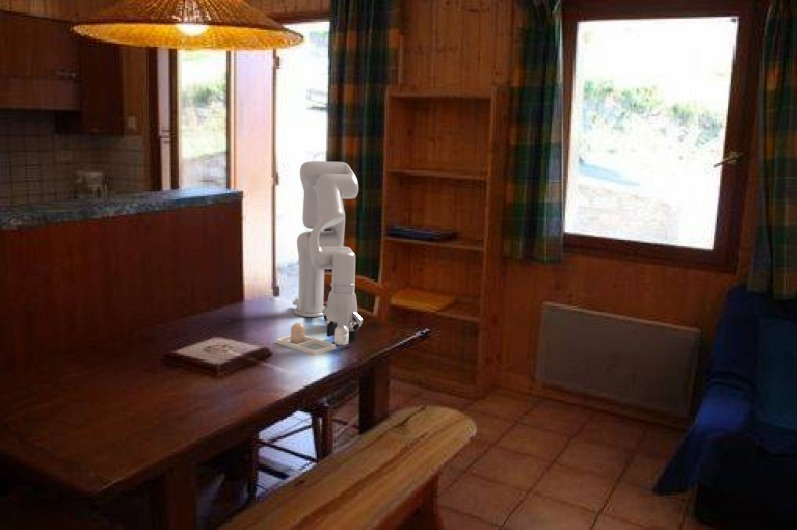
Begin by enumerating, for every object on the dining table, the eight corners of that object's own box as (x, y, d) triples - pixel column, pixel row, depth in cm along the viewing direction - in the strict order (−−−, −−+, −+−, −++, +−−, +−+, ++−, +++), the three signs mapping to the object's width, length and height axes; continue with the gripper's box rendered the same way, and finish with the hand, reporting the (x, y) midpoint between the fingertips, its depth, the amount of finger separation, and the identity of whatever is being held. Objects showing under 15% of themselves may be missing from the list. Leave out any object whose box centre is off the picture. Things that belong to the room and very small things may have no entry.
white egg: (331, 345, 238) (331, 325, 237) (340, 342, 242) (341, 322, 240) (341, 348, 235) (342, 327, 234) (351, 345, 239) (351, 325, 238)
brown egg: (287, 343, 236) (288, 323, 234) (296, 339, 240) (297, 320, 238) (298, 346, 233) (299, 326, 232) (307, 343, 237) (308, 323, 236)
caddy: (276, 345, 235) (276, 339, 235) (297, 339, 243) (297, 333, 243) (314, 357, 225) (315, 351, 225) (335, 350, 232) (335, 344, 232)
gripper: (315, 285, 237) (314, 335, 240) (355, 294, 227) (353, 347, 230) (331, 282, 243) (330, 331, 246) (370, 291, 233) (368, 342, 236)
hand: (341, 338), depth 238 cm, fingers open, 9 cm apart
